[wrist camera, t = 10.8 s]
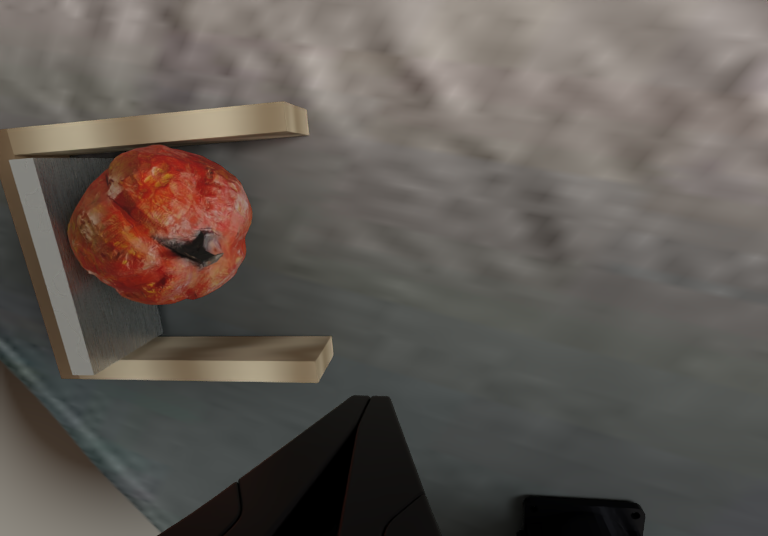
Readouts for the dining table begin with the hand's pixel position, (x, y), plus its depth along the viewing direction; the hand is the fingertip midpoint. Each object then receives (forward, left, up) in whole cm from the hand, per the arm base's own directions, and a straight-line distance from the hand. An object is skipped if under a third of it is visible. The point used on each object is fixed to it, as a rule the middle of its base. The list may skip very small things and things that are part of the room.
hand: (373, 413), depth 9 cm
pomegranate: (+11, -3, -13) cm, 18 cm away
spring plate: (+16, -2, -13) cm, 20 cm away
